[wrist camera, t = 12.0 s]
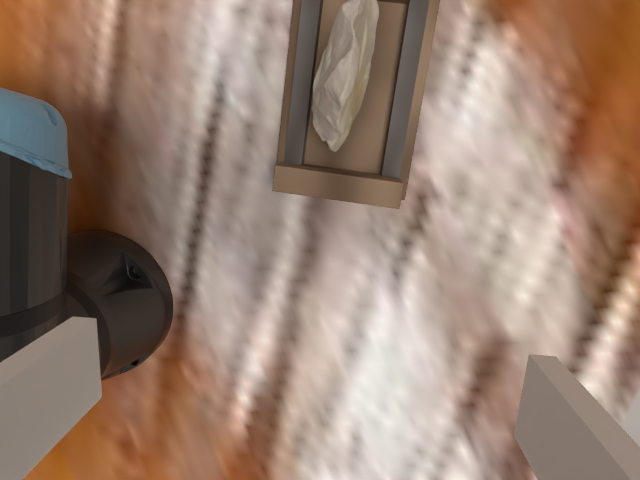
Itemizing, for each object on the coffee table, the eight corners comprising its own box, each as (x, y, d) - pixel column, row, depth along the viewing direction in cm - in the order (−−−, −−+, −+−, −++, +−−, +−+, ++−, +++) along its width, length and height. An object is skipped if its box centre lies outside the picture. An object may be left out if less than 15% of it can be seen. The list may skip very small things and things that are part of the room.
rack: (277, 180, 41) (259, 189, 34) (299, -30, 37) (284, -70, 30) (403, 198, 40) (412, 210, 33) (440, -15, 36) (459, -51, 29)
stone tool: (340, 13, 36) (322, -72, 22) (382, 20, 36) (393, -60, 21) (315, 145, 39) (285, 148, 24) (354, 153, 39) (348, 161, 24)
